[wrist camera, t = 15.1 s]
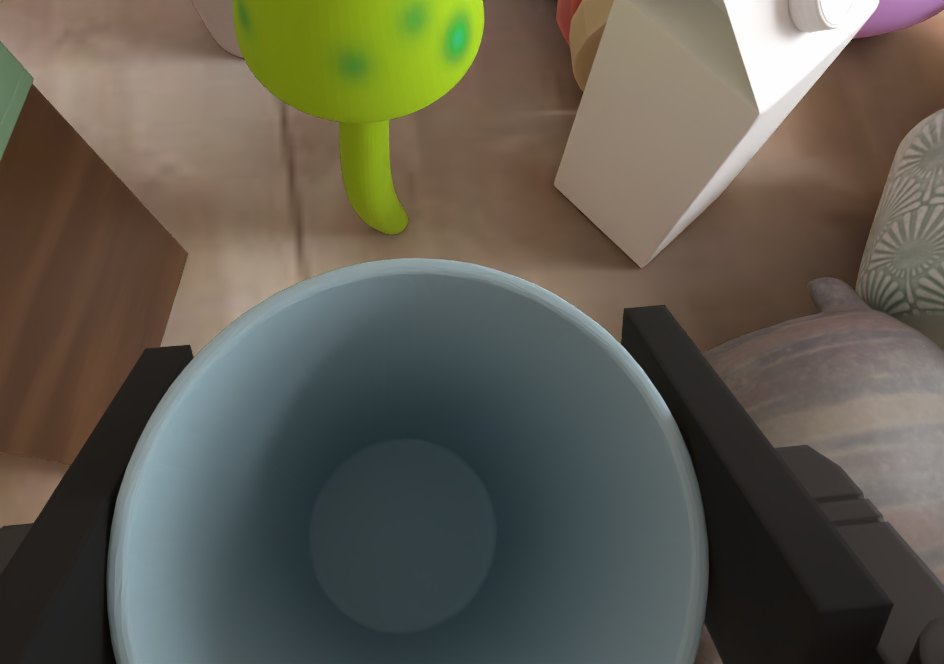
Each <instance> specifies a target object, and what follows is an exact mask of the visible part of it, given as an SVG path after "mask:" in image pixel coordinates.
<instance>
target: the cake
mask: <svg viewBox="0 0 944 664" xmlns="http://www.w3.org/2000/svg"><path fill="white" fill-rule="evenodd" d="M613 2H614V0H558V4H557V15H556V21H557V23H558V25H559V28H560V30H561V32H562V34H563V37H564V39H565V41H566V42H567V44H568V45H569V46H570V50H571V59H572V67H573V75H574V77H575V79H576V81H577V84H578V86H579V88H580V89H581V90H582V91H584V90H585V87H586V84H587V81H588V78H589V74H590V71H591V68H592V65H593V62H594V59H595V56H596V53H597V50H598V47H599V44H600V41H601V38H602V35H603V32H604V29H605V26H606V23H607V20H608V17H609V14H610V11H611V8H612V5H613Z"/></svg>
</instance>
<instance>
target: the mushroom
mask: <svg viewBox="0 0 944 664" xmlns="http://www.w3.org/2000/svg"><path fill="white" fill-rule="evenodd" d="M232 5H233V20H234V28H235V33H236V38H237V42H238V45H239V48H240V51H241V53H242V56H243V58H244V60H245V62H246V63H247V65H248V67H249V68H250V70H251V71H252V73H253V74H254V75H255V77H256V78H257V79H258V80H259V81H260V82H261V83H262V84H263V86H264V87H266V88H267V89H268V90H269V91H270V92H271V93H272V94H274V95H275V96H276V97H277V98H279V99H280V100H282V101H283V102H285V103H287V104H288V105H290V106H292V107H294V108H296V109H298V110H300V111H302V112H305V113H307V114H310V115H313V116H316V117H319V118H323V119H327V120H332V121H338V122H339V139H340V159H341V170H342V176H343V182H344V186H345V190H346V193H347V197H348V199H349V201H350V203H351V205H352V207H353V209H354V211H355V212H356V213H357V214H358V216H359V217H360V218H361V219H362V220H363V221H364V222H366V223H367V224H368V225H370V226H371V227H373V228H375V229H376V230H378V231H380V232H383V233H385V234H389V235H395V234H398V233H400V232H402V231H403V230H404V229H405V228H406V226H407V224H408V215H407V213H406V211H405V210H404V208H403V207H402V205H401V204H400V202H399V200H398V198H397V196H396V193H395V190H394V186H393V181H392V176H391V168H390V155H389V120H391V119H395V118H399V117H402V116H406V115H409V114H411V113H414V112H416V111H418V110H420V109H423V108H425V107H427V106H428V105H430V104H432V103H433V102H435V101H437V100H438V99H440V98H441V97H442V96H444V95H445V94H446V93H447V92H449V91H450V90H451V89H452V88H453V87H454V86H455V85H456V84H457V83H458V82H459V81H460V80H461V78H462V77H463V76H464V75H465V73H466V72H467V70H468V69H469V67H470V66H471V64H472V62H473V60H474V59H475V57H476V54H477V52H478V49H479V47H480V43H481V40H482V35H483V30H484V6H483V0H232Z"/></svg>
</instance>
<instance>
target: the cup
mask: <svg viewBox="0 0 944 664" xmlns="http://www.w3.org/2000/svg"><path fill="white" fill-rule="evenodd" d="M708 581H709V546H708V535H707V527H706V520H705V513H704V507H703V502H702V497H701V493H700V488H699V483H698V480H697V476H696V473H695V470H694V466H693V463H692V460H691V456H690V454H689V452H688V449H687V447H686V444H685V442H684V440H683V437H682V435H681V433H680V430H679V428H678V426H677V423H676V422H675V420H674V418H673V416H672V414H671V412H670V410H669V409H668V407H667V405H666V404H665V402H664V400H663V398H662V397H661V395H660V394H659V392H658V391H657V389H656V388H655V386H654V385H653V384H652V382H651V381H650V379H649V378H648V376H647V375H646V373H645V372H644V371H643V369H642V368H641V367H640V366H639V364H638V363H637V362H636V361H635V360H634V359H633V357H632V356H631V355H630V354H629V353H628V352H627V350H626V349H625V348H624V347H623V346H622V345H621V344H620V343H619V342H618V341H617V340H616V339H615V338H614V337H613V336H612V335H611V334H610V333H609V332H607V331H606V330H605V329H604V328H603V327H602V326H600V325H599V324H598V323H597V322H595V321H594V320H592V319H591V318H590V317H588V316H587V315H586V314H584V313H583V312H582V311H580V310H579V309H577V308H576V307H575V306H573V305H572V304H570V303H568V302H567V301H565V300H564V299H562V298H560V297H559V296H557V295H555V294H553V293H552V292H550V291H548V290H546V289H544V288H542V287H540V286H538V285H536V284H533V283H531V282H529V281H526V280H524V279H521V278H519V277H516V276H514V275H511V274H508V273H505V272H502V271H499V270H495V269H492V268H488V267H484V266H480V265H476V264H471V263H465V262H460V261H454V260H443V259H428V258H399V259H388V260H379V261H372V262H366V263H360V264H355V265H351V266H347V267H343V268H339V269H336V270H333V271H329V272H326V273H323V274H320V275H317V276H314V277H312V278H309V279H306V280H304V281H301V282H299V283H297V284H295V285H293V286H291V287H289V288H287V289H284V290H282V291H280V292H278V293H276V294H274V295H273V296H271V297H269V298H268V299H266V300H265V301H263V302H261V303H260V304H258V305H257V306H255V307H253V308H252V309H250V310H249V311H247V312H245V313H244V314H243V315H241V316H240V317H239V318H237V319H236V320H235V321H234V322H232V323H231V324H230V325H229V326H227V327H226V328H225V329H224V330H222V331H221V332H220V333H219V334H218V335H217V336H216V337H215V338H214V339H213V340H212V341H210V342H209V343H208V344H207V345H206V346H205V347H204V348H203V349H202V350H201V351H200V352H199V353H198V354H197V355H196V356H195V357H194V358H193V360H192V361H191V362H190V363H189V364H188V365H187V366H186V367H185V368H184V370H183V371H182V372H181V373H180V375H179V376H178V377H177V378H176V380H175V381H174V382H173V383H172V384H171V386H170V387H169V389H168V390H167V392H166V393H165V395H164V396H163V398H162V399H161V401H160V402H159V404H158V406H157V407H156V409H155V410H154V412H153V414H152V415H151V417H150V419H149V421H148V423H147V425H146V427H145V429H144V431H143V433H142V434H141V436H140V438H139V440H138V443H137V445H136V447H135V450H134V452H133V454H132V457H131V459H130V461H129V464H128V466H127V468H126V471H125V475H124V478H123V481H122V484H121V487H120V490H119V494H118V497H117V500H116V505H115V510H114V515H113V520H112V525H111V531H110V540H109V548H108V558H107V576H106V585H107V611H108V619H109V627H110V635H111V642H112V647H113V651H114V655H115V660H116V664H694V662H695V659H696V655H697V652H698V649H699V644H700V639H701V634H702V629H703V625H704V620H705V614H706V604H707V594H708Z"/></svg>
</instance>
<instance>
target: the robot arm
mask: <svg viewBox="0 0 944 664" xmlns="http://www.w3.org/2000/svg"><path fill="white" fill-rule="evenodd" d="M621 345H622V346H623V347H624V348H625V349H626V350H627V352H628V353H629V354H630V355H631V356H632V357H633V359H634V360H635V361H636V362H637V363H638V364H639V366H640V367H641V368H642V369H643V371H644V372H645V373H646V375H647V376H648V378H649V379H650V381H651V382H652V384H653V385H654V386H655V388H656V389H657V391H658V392H659V394H660V395H661V397H662V398H663V400H664V402H665V404H666V405H667V407H668V409H669V410H670V412H671V414H672V416H673V418H674V420H675V422H676V423H677V426H678V428H679V430H680V433H681V435H682V437H683V440H684V442H685V444H686V447H687V449H688V452H689V454H690V456H691V460H692V463H693V466H694V470H695V473H696V476H697V480H698V483H699V488H700V493H701V497H702V502H703V507H704V513H705V520H706V527H707V535H708V546H709V581H708V594H707V604H706V614H705V620H704V623H705V626H706V628H707V630H708V632H709V634H710V636H711V639H712V641H713V643H714V645H715V647H716V649H717V652H718V654H719V656H720V658H721V660H722V662H723V664H944V585H943V584H942V583H941V582H940V580H939V579H938V578H937V577H936V576H935V575H934V573H933V572H932V571H931V570H930V569H929V568H928V567H927V565H926V564H925V563H924V562H923V561H922V560H921V558H920V557H919V556H918V555H917V554H916V553H915V552H914V550H913V549H912V548H911V547H910V546H909V545H908V544H907V542H906V541H905V540H904V539H903V538H902V537H901V535H900V534H899V533H898V532H897V531H896V530H895V529H894V527H893V526H892V525H891V524H890V523H889V522H888V521H887V522H885V521H884V519H883V515H882V514H881V512H880V511H879V510H878V509H877V508H876V507H875V506H874V504H873V503H872V502H871V501H870V500H869V499H865V498H864V493H863V492H862V491H861V489H860V488H859V487H858V486H857V485H856V484H855V483H854V481H853V480H852V479H851V478H850V477H849V476H848V475H847V473H846V472H845V471H844V470H843V469H842V468H841V466H839V465H838V464H836V463H834V462H833V461H831V460H830V459H828V458H827V457H825V456H824V455H822V454H821V453H819V452H817V451H816V450H814V449H813V448H811V447H810V446H808V445H799V446H789V447H779V448H774V447H773V446H772V444H771V443H770V442H769V441H768V439H767V438H766V437H765V435H764V434H763V433H762V431H761V430H760V429H759V428H758V426H757V425H756V424H755V422H754V421H753V420H752V418H751V417H750V416H749V414H748V413H747V412H746V411H745V409H744V408H743V407H742V405H741V404H740V403H739V401H738V400H737V399H736V398H735V396H734V395H733V394H732V392H731V391H730V390H729V388H728V387H727V386H726V385H725V383H724V382H723V381H722V379H721V378H720V377H719V375H718V374H717V373H716V371H715V370H714V369H713V368H712V366H711V365H710V364H709V362H708V361H707V360H706V358H705V357H704V356H703V355H702V353H701V352H700V351H699V349H698V348H697V347H696V345H695V344H694V343H693V342H692V340H691V339H690V338H689V336H688V335H687V334H686V332H685V331H684V330H683V328H682V327H681V326H680V325H679V323H678V322H677V321H676V319H675V318H674V317H673V315H672V314H671V313H670V312H669V310H668V309H667V308H666V306H665V305H660V306H648V307H636V308H624V313H623V327H622V340H621ZM193 358H194V357H193V354H192V350H191V347H190V345H182V346H170V347H158V348H147V349H145V350H144V352H143V353H142V355H141V356H140V358H139V359H138V361H137V363H136V364H135V366H134V367H133V369H132V370H131V372H130V374H129V375H128V377H127V378H126V380H125V381H124V383H123V384H122V386H121V388H120V389H119V391H118V392H117V394H116V395H115V397H114V399H113V400H112V402H111V403H110V405H109V406H108V408H107V410H106V411H105V413H104V414H103V416H102V417H101V419H100V420H99V422H98V424H97V425H96V427H95V428H94V430H93V431H92V433H91V435H90V436H89V438H88V439H87V441H86V442H85V444H84V445H83V447H82V449H81V450H80V452H79V453H78V455H77V456H76V458H75V460H74V461H73V463H72V464H71V466H70V467H69V469H68V471H67V472H66V474H65V475H64V477H63V478H62V480H61V481H60V483H59V485H58V486H57V488H56V489H55V491H54V492H53V494H52V496H51V497H50V499H49V500H48V502H47V503H46V505H45V507H44V508H43V510H42V511H41V513H40V514H39V516H38V517H37V519H36V521H35V522H34V523H31V524H21V525H11V526H3V527H2V528H1V529H0V664H116V660H115V655H114V651H113V647H112V642H111V635H110V627H109V619H108V611H107V585H106V576H107V558H108V548H109V540H110V531H111V525H112V520H113V515H114V510H115V505H116V500H117V497H118V494H119V490H120V487H121V484H122V481H123V478H124V475H125V471H126V468H127V466H128V464H129V461H130V459H131V457H132V454H133V452H134V450H135V447H136V445H137V443H138V440H139V438H140V436H141V434H142V433H143V431H144V429H145V427H146V425H147V423H148V421H149V419H150V417H151V415H152V414H153V412H154V410H155V409H156V407H157V406H158V404H159V402H160V401H161V399H162V398H163V396H164V395H165V393H166V392H167V390H168V389H169V387H170V386H171V384H172V383H173V382H174V381H175V380H176V378H177V377H178V376H179V375H180V373H181V372H182V371H183V370H184V368H185V367H186V366H187V365H188V364H189V363H190V362H191V361H192V360H193Z"/></svg>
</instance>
